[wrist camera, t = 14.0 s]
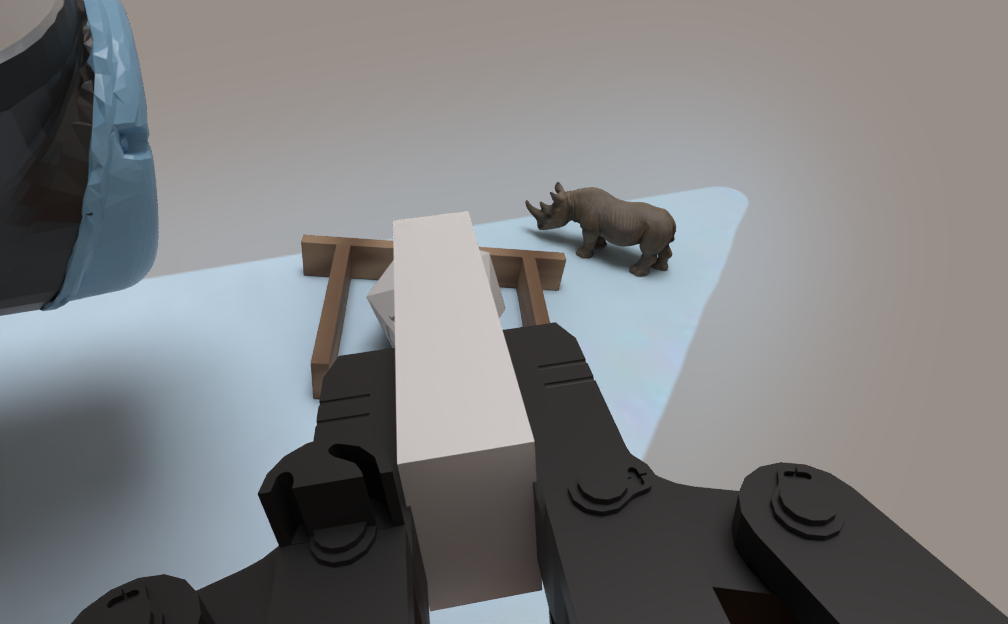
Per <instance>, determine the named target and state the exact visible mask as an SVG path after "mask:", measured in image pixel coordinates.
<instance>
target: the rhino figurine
mask: <svg viewBox="0 0 1008 624" xmlns="http://www.w3.org/2000/svg"><path fill="white" fill-rule="evenodd" d="M555 191H556V192H557V193H558V194H554V193H552V192H550V194H551V197H552V200H553V201H554V203H553V204H552V205H546V204H544V203H543V202H540V206H541V210H539V209H537V208H535V207H533V206H532V205H530V204H529V202H528V201H527V200H526V202H525V203H526V207H527V209H528V210H529V212H530V213H531V214H532V215H533V216H534V217H535V218H536V220H537V226H538V229H539V230H548V229H555V228H560V227H563V226H565V225H566V224H567V223H568V222H569V221H571V220H573V221H574V222H578V223H579V224H580V227H581V228H582V234H583V238H584V245H583V246H582V247H580V248H579V249H578V251H577V252H576V255H577V256H579V257H581V258H590V257H592V256H593V248H595V249H600V248H604V247H605V246H606V245H607V243H606V241H605V240H607V241H608V242H610V243H612V244H614V245H617V246H633V245H637V244H640V250H641V252H642V253H643V254H642V256H641V258H640V260H639V261H638V262H637V263H636V264H634V265H632V266H631V267H630V268H629V271H630V272H631V273H632V274H635V275H636V276H646V275H647V274H648V273H649V266H650V265H651V266H652V267H653V268H654V269H659V270H666V269H668V264H667V261H668V259H669V258H670V257H671V256H672V251H671V249H670V247H669V243H670V242H673V241H674V234H675V232H676V224H675V221H674V219H673V217H672V216H671V215H670V214H669V212H668V211H667V210H665V209H662V208H658V207H655V206H652V205H650V204H647V203H644V202H626V201H623V200H619V199H617V198H615V197H613V196H612V195H610V194H609V193H608V192H606V191H604V190H602V189H599V188H593V187H591V188H582V189H577V190H574V191H567V192H565V191H564V189H563V187H562V185H561V184H560V183H559V182H557V183H556V185H555ZM657 254H658V258H657Z"/></svg>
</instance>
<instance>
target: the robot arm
mask: <svg viewBox="0 0 1008 624" xmlns="http://www.w3.org/2000/svg"><path fill="white" fill-rule="evenodd" d="M148 137H149V130H148V123H147V106H146V99H145V93H144V87H143V81H142V76H141V70H140V64H139V60H138V55H137V50H136V46H135V41H134V37H133V33H132V29H131V26H130V23H129V20H128V17H127V13H126V11H125V9H124V6H123V5H122V3H121V1H120V0H0V316H2V315H9V314H15V313H21V312H27V311H34V310H42V311H47V310H54V309H57V308H59V307H61V306H63V305H65V304H66V303H68V301H73V300H77V299H82V298H87V297H91V296H96V295H101V294H105V293H110V292H115V291H119V290H123V289H126V288H129V287H131V286H133V285H135V284H136V283H138V282H139V281H141V280H142V279H143V278H144V277H145V276H146V275H147V274H148V272H149V271H150V269H151V268H152V266H153V264H154V261H155V258H156V254H157V248H158V203H157V189H156V178H155V170H154V161H153V155H152V151H151V147H150V145H149V143H148ZM393 246H394V305H395V348H391V349H384V350H377V351H370V352H363V353H356V354H349V355H342V356H339V357H338V358H337V359H336V361H335V362H334V363H333V365H332V366H331V368H330V369H329V370H328V372H327V373H326V374H325V376H324V377H323V380H322V387H321V394H320V401H319V402H320V406H319V407H318V414H317V426H316V428H315V435H314V441H313V442H310V443H307V444H305V445H303V446H302V447H300V448H298V449H296V450H295V451H293V452H291V453H290V454H288V455H286V456H284V457H283V458H282V459H281V460H280V461H279V462H278V463H277V464H276V465H275V466H274V468H273V469H272V470H271V471H270V472H269V473H268V474H267V475H266V477H265V479H264V482H263V484H262V486H261V488H260V490H259V492H258V496H259V499H260V501H261V503H262V506H263V508H264V511H265V513H266V515H267V518H268V520H269V523H270V525H271V527H272V530H273V532H274V535H275V537H276V539H277V542H278V544H279V546H278V547H277V548H275V549H274V550H273V551H272V552H270V553H269V554H268V555H267V556H265V557H264V558H263V559H261V560H259V561H258V562H256V563H254V564H252V565H250V566H249V567H247V568H245V569H243V570H241V571H239V572H236V573H234V574H232V575H230V576H228V577H225V578H223V579H221V580H219V581H217V582H215V583H212V584H210V585H208V586H206V587H204V588H201V589H199V590H197V591H195V590H194V589H193V588H192V587H191V586H190V584H189V583H188V582H187V581H186V580H185V579H181V578H177V577H173V576H169V575H165V574H163V575H156V576H149V577H142V578H137V579H135V580H133V581H131V582H128V583H126V584H124V585H121V586H119V587H117V588H114V589H112V590H110V591H109V592H107V593H106V594H105V595H103V596H102V597H100V598H99V599H98V600H96V601H95V602H94V603H92V604H91V605H89V606H88V607H87V608H85V609H84V610H83V611H82V612H81V613H80V614H79V615H78V616H77V618H76V619H75V620H74V621H73V622H72V623H71V624H430V619H429V608H430V611H435V610H440V609H445V608H450V607H456V606H461V605H466V604H471V603H477V602H482V601H487V600H492V599H498V598H503V597H508V596H513V595H519V594H524V593H529V592H535V591H540V590H542V581H543V585H544V589H545V594H546V598H547V602H548V606H549V618H550V624H1008V617H1007V616H1005V615H1004V614H1003V613H1002V612H1001V611H999V610H998V609H997V608H996V607H995V606H993V605H992V604H991V603H990V602H989V601H987V600H986V599H985V598H984V597H983V596H981V595H980V594H979V593H977V591H975V590H974V589H973V588H972V587H971V586H970V585H968V584H967V583H966V582H965V581H964V580H962V579H961V578H960V577H959V576H958V575H956V574H955V573H954V572H953V571H952V570H950V569H949V568H948V567H947V566H945V565H944V564H943V563H942V562H941V561H940V560H938V559H937V558H936V557H935V556H934V555H932V554H931V553H930V552H929V551H928V550H926V549H925V548H924V547H923V546H922V545H920V544H919V543H918V542H917V541H916V540H915V539H913V538H912V537H911V536H910V535H909V534H907V533H906V532H905V531H904V530H903V529H901V528H900V527H899V526H898V525H896V524H895V523H894V522H893V521H892V520H890V519H889V518H888V517H887V516H886V515H885V514H883V513H882V512H881V511H880V510H878V509H877V508H876V507H875V506H874V505H873V504H871V503H870V502H869V501H868V500H867V499H866V498H864V497H863V496H862V495H861V494H860V493H858V492H857V491H856V490H855V489H854V488H852V487H851V486H849V485H848V484H846V483H845V482H843V481H841V480H840V479H838V478H837V477H835V476H834V475H832V474H830V473H828V472H825V471H822V470H819V469H816V468H813V467H811V466H808V465H804V464H793V463H782V462H780V463H776V464H771V465H766V466H761V467H759V468H758V469H756V470H755V471H753V472H752V473H751V474H749V475H748V476H746V477H745V479H744V481H743V484H742V486H741V488H740V491H733V490H721V489H711V488H702V487H693V486H687V485H682V484H677V483H674V482H671V481H669V480H666V479H663V478H661V477H658V476H657V475H655V474H654V472H653V471H652V470H651V469H650V467H649V466H648V465H647V464H646V463H644V462H643V461H641V460H640V459H638V458H636V457H635V456H633V455H632V454H631V453H630V452H629V450H628V449H627V447H626V445H625V443H624V441H623V439H622V437H621V435H620V432H619V430H618V428H617V426H616V424H615V422H614V420H613V417H612V415H611V413H610V411H609V409H608V407H607V404H606V402H605V400H604V398H603V396H602V394H601V391H600V389H599V387H598V385H597V383H596V381H594V378H593V374H592V372H591V370H590V368H589V366H588V363H586V361H585V357H584V355H583V353H582V351H581V348H580V346H579V344H578V342H577V340H576V338H575V337H574V336H572V335H571V334H570V333H568V332H567V331H566V330H565V329H563V328H562V327H561V326H559V325H558V324H557V323H548V324H541V325H534V326H527V327H520V328H514V329H507V330H502V327H501V323H500V320H499V316H498V313H497V309H496V306H495V303H494V299H493V296H492V292H491V289H490V285H489V282H488V278H487V275H486V271H485V268H484V264H483V261H482V257H481V254H480V250H479V247H478V243H477V240H476V237H475V233H474V230H473V226H472V223H471V220H470V216H469V212H468V211H467V212H458V213H451V214H443V215H435V216H426V217H418V218H410V219H403V220H395V221H393Z"/></svg>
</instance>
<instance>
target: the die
mask: <svg viewBox="0 0 1008 624" xmlns="http://www.w3.org/2000/svg"><path fill="white" fill-rule="evenodd" d="M480 254H481V257H482V261H483V264H484V268H485V271H486V275H487V278H488V282H489V285H490V289H491V292H492V296H493V299H494V303H495V306H496V309H497V313H498V316H499V318H500V316H501V315H502V313H503V312H504V310H505V305H504V301H503V298H502V295H501V291H500V288H499V284H498V281H497V277H496V274H495V271H494V267H493V264H492V260H491V257H490V254H489V252H485V251H481V250H480ZM366 297H367V299H368V301H369V303H370V305H371V307H372V309H373V311H374V313H375V315H376V317H377V319H378V320H379V322H380V324H381V326H382V328H383V330H384V332H385V334H386V336H387V338H388V340H389V342H390V344H391V346H392V348H395V305H394V260H393V261H392V263H391V264H390V265H389V267H388V268H387V269H386V271H385V272H384V273H383V275H382V276H381V277H380V279H379V280H378V281H377V283H376V284H375V285H374V287H373V288H372V289H371V291H370V292H369V293H368V295H367V296H366Z"/></svg>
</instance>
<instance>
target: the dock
mask: <svg viewBox="0 0 1008 624" xmlns="http://www.w3.org/2000/svg"><path fill="white" fill-rule="evenodd" d="M301 245H302V258H303V271H304V275H309V276H326V277H329V281H328V286H327V291H326V295H325V300H324V304H323V309H322V314H321V318H320V323H319V328H318V332H317V337H316V341H315V346H314V351H313V355H312V360H311V373H312V385H313V398H315V399H320V394H321V387H322V380H323V377H324V376H325V374H326V373H327V372H328V370H329V369H330V368H331V366H332V365H333V363H334V362H335V361H336V359H337V357H338V351H339V345H340V339H341V334H342V328H343V322H344V316H345V310H346V304H347V298H348V292H349V287H350V281H351V278H360V279H377V280H379V279H380V277H381V276H382V275H383V273H384V272H385V271H386V269H387V268H388V267H389V265H390V264H391V263H392V261H393V260H394V246H393V241H387V240H371V239H358V238H342V237H329V236H314V235H303V238H302V241H301ZM479 250H481V251H485V252H489V254H490V257H491V260H492V264H493V267H494V271H495V274H496V277H497V281H498V284H499V287H512V288H517V294H518V299H519V305H520V311H521V316H522V322H523V327H527V326H534V325H541V324H548V323H550V321H549V316H548V312H547V308H546V303H545V299H544V295H543V290H542V289H546V290H559V287H560V283H561V279H562V275H563V271H564V267H565V263H566V258H565V254H564V253H559V252H545V251H530V250H516V249H502V248H487V247H479Z"/></svg>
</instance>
